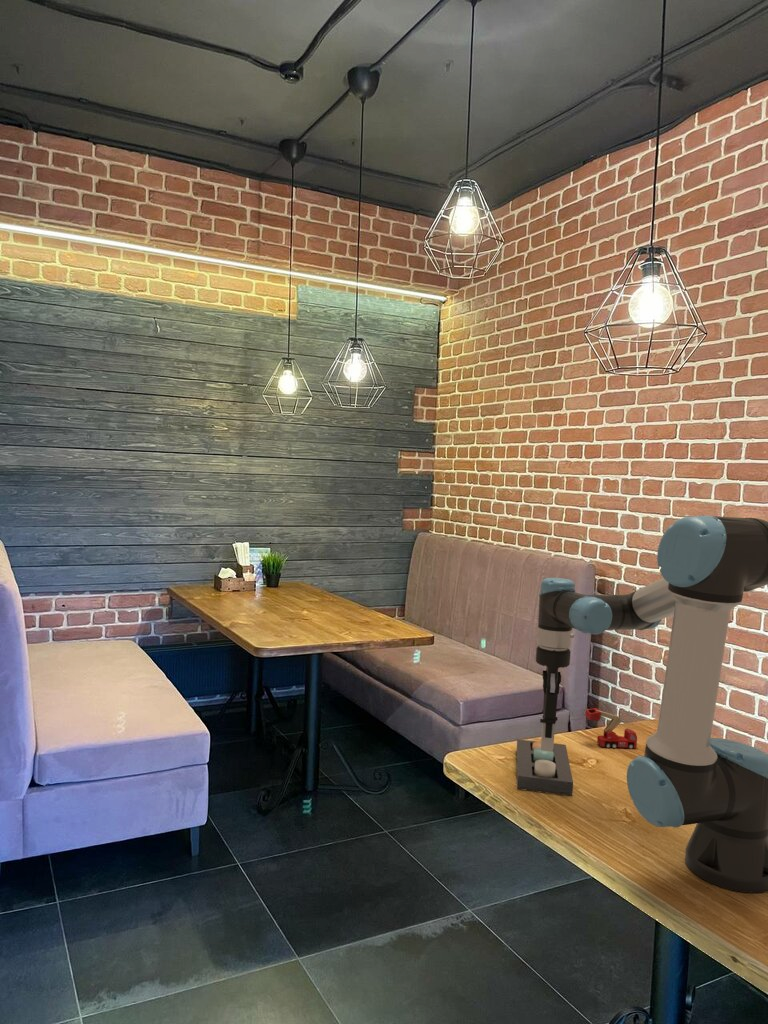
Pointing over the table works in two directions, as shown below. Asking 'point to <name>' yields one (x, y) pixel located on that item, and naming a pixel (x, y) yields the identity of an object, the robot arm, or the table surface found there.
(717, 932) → the table surface
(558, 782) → the panel
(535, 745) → the button terracotta
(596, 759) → the table surface
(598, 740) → the toy fire truck
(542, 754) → the button teal
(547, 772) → the button ivory
